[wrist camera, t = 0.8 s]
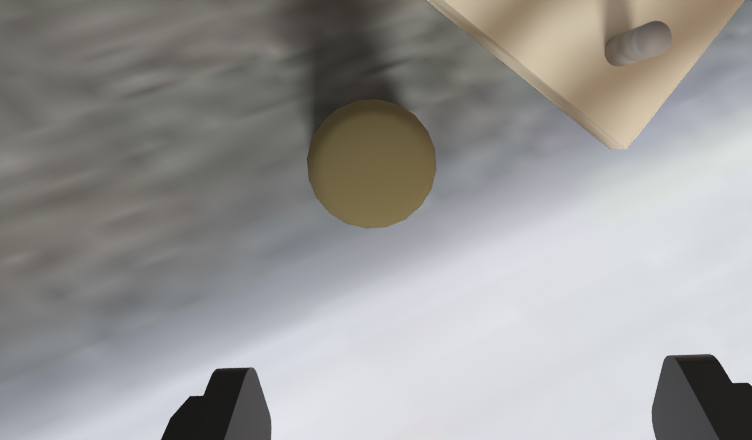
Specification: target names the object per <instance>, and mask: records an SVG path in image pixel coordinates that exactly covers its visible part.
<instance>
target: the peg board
mask: <svg viewBox="0 0 752 440" xmlns="http://www.w3.org/2000/svg"><path fill="white" fill-rule="evenodd" d="M427 1H428V2H429V3H430V4H431V5H433V6H434V7H435V8H436V9H438V10H439V11H440V12H441V13H443V14H444V15H445V16H446V17H448V18H449V19H450V20H451V21H452V22H454V23H455V24H456V25H457V26H459V27H460V28H461V29H462V30H464V31H465V32H466V33H467V34H469V35H470V36H471V37H472V38H473V39H475V40H476V41H477V42H478V43H480V44H481V45H482V46H483V47H485V48H486V49H487V50H488V51H490V52H491V53H492V54H493V55H494V56H496V57H497V58H498V59H499V60H501V61H502V62H503V63H504V64H506V65H507V66H508V67H509V68H511V69H512V70H513V71H514V72H515V73H517V74H518V75H519V76H520V77H522V78H523V79H524V80H525V81H527V82H528V83H529V84H530V85H532V86H533V87H534V88H535V89H536V90H538V91H539V92H540V93H541V94H543V95H544V96H545V97H546V98H548V99H549V100H550V101H551V102H553V103H554V104H555V105H556V106H558V107H559V108H560V109H561V110H562V111H564V112H565V113H566V114H567V115H569V116H570V117H571V118H572V119H574V120H575V121H576V122H577V123H579V124H580V125H581V126H582V127H583V128H585V129H586V130H587V131H588V132H590V133H591V134H592V135H593V136H595V137H596V138H597V139H598V140H600V141H601V142H602V143H603V144H604V145H606V146H607V147H608V148H609V149H627V148H628V147H629V146H630V144H631V143H632V142H633V141H634V139H635V138H636V137H637V136H638V134H639V133H640V132H641V130H642V129H643V128H644V127H645V125H646V124H647V123H648V122H649V120H650V119H651V118H652V117H653V115H654V114H655V113H656V112H657V110H658V109H659V108H660V106H661V105H662V104H663V103H664V101H665V100H666V99H667V98H668V96H669V95H670V94H671V93H672V91H673V90H674V89H675V88H676V86H677V85H678V84H679V83H680V81H681V80H682V79H683V77H684V76H685V75H686V74H687V72H688V71H689V70H690V69H691V67H692V66H693V65H694V64H695V62H696V61H697V60H698V59H699V57H700V56H701V55H702V53H703V52H704V51H705V50H706V48H707V47H708V46H709V45H710V43H711V42H712V41H713V40H714V38H715V37H716V36H717V35H718V33H719V32H720V31H721V30H722V28H723V27H724V26H725V24H726V23H727V22H728V21H729V19H730V18H731V17H732V16H733V14H734V13H735V12H736V11H737V9H738V8H739V7H740V6H741V4H742V3H743V2H744V1H745V0H427Z"/></svg>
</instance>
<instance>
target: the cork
mask: <svg viewBox="0 0 752 440" xmlns="http://www.w3.org/2000/svg"><path fill="white" fill-rule="evenodd" d="M307 163H308V175H309V181H310V183H311V186H312V188H313V190H314V193H315V195H316V197H317V199H318V200H319V201H320V202H321V204H322V205H323V206H324V207H325V208H326V209H327V211H328V212H329V213H330V214H332V215H333V216H335V217H337V218H338V219H340V220H342V221H343V222H345V223H347V224H350V225H354V226H358V227H362V228H380V227H388V226H390V225H393V224H395V223H397V222H400V221H402V220H405V219H406V218H407V217H408V216H410V215H411V214H412V213H413V212H414V211H416V210H417V209H418V208H419V207H420V206H421V205H422V203H423V202H424V200H425V198H426V197H427V195H428V194H429V192H430V190H431V188H432V184H433V180H434V176H435V172H436V160H435V149H434V146H433V144H432V141H431V138H430V136H429V133H428V131H427V130H426V128H425V127H424V126H423V125H422V123H421V122H420V121H419V120H418V118H417V117H416V116H415V115H414V114H412V113H411V112H409V111H408V110H406V109H405V108H403V107H401V106H400V105H398V104H396V103H392V102H388V101H384V100H380V99H369V100H357V101H354V102H352V103H349V104H347V105H344V106H342V107H340V108H338V109H336V110H335V111H334V112H333V113H332V114H331V115H329V116H328V117H327V118H326V119H325V120H324V121H322V123H321V125H320V126H319V128H318V130H317V131H316V133H315V135H314V136H313V138H312V140H311V145H310V149H309V153H308V158H307Z"/></svg>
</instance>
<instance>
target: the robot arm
mask: <svg viewBox="0 0 752 440" xmlns="http://www.w3.org/2000/svg"><path fill="white" fill-rule="evenodd" d="M652 423H653V429H654V433H655V437H656V440H752V386H751V385H750V384H749V383H732V382H731V380H730V379H729V377H728V375H727V374H726V372H725V371H724V369H723V367H722V366H721V364H720V363H719V361H718V360H717V359H716V358H715V357H714V356H713V355H710V354H701V355H670V356H667V357H666V358H665V359H664V362H663V365H662V369H661V373H660V377H659V382H658V386H657V390H656V394H655V398H654V402H653V406H652ZM161 440H271V418H270V413H269V410H268V407H267V404H266V401H265V397H264V394H263V391H262V388H261V385H260V382H259V379H258V376H257V373H256V371H255V369H254V368H223V369H216V370H215V371H214V372H213V374H212V376H211V378H210V380H209V383H208V385H207V388H206V390H205V393H204V396H190V397H189V398H188V399H187V400H186V401H185V402H184V404H183V405H182V406H181V407H180V408H179V409H178V410H177V411H176V413H175V414H174V415H173V416H172V417H171V418H170V421H169V423H168V425H167V427H166V430H165V432H164V434H163V436H162V439H161Z"/></svg>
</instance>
